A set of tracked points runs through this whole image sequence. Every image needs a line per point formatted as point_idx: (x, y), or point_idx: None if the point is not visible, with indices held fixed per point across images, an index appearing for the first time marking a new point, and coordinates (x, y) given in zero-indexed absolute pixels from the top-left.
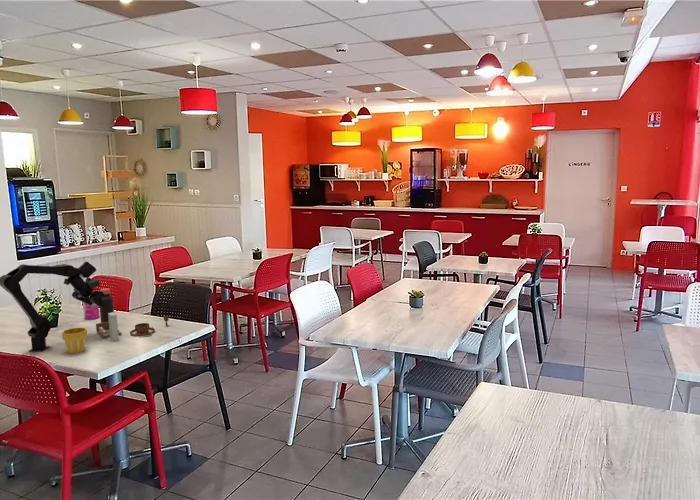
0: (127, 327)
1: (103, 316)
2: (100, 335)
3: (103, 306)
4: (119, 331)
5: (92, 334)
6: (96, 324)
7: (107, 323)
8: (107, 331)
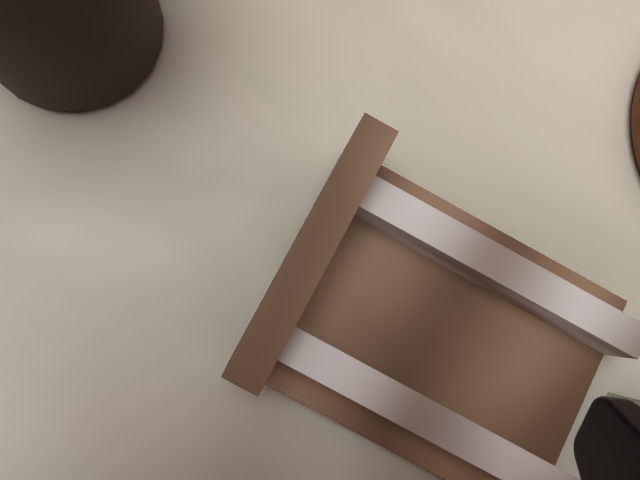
0: (410, 25)
1: (38, 43)
2: (429, 469)
3: (629, 420)
4: (552, 262)
5: (218, 424)
6: (257, 394)
7: (340, 239)
8: (401, 323)
